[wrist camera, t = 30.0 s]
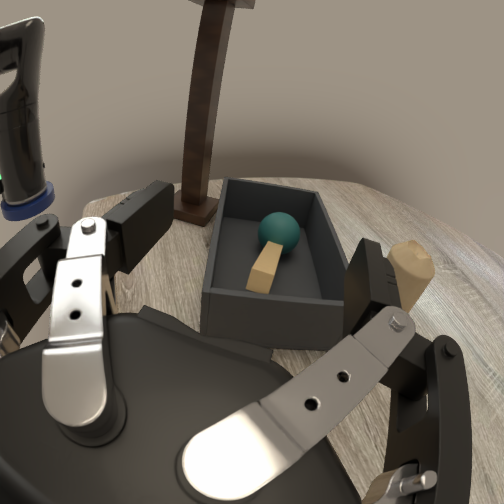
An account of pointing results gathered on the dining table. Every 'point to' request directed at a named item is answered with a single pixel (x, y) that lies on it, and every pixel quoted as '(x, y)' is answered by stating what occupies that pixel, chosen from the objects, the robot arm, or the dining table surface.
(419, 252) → the candle
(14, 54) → the robot arm
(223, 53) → the stand
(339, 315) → the bin
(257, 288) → the rattle
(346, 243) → the dining table surface
